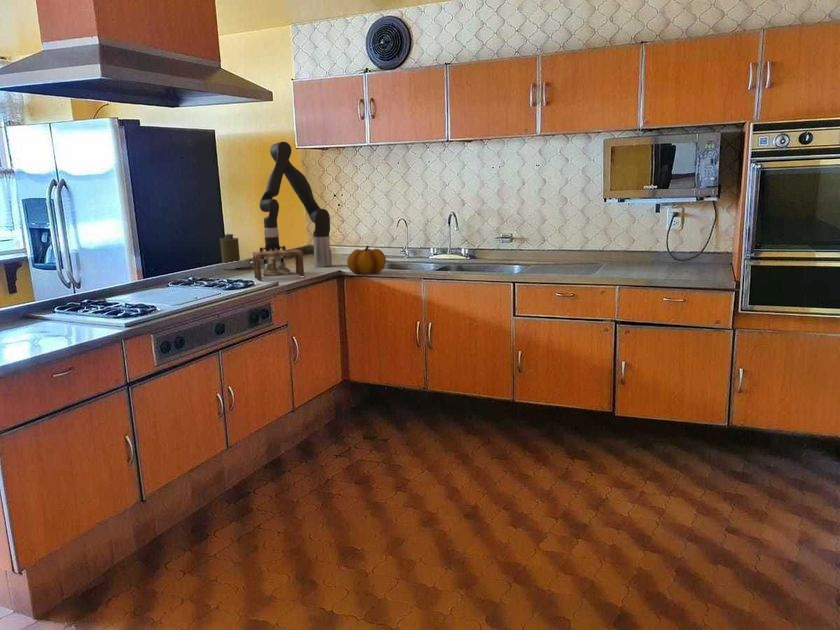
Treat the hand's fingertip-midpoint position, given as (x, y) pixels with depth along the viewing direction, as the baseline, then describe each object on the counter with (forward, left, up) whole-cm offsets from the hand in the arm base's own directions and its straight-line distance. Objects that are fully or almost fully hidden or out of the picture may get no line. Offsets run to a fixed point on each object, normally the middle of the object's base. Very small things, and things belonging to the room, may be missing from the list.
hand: (273, 265), depth 363 cm
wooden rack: (0, +17, -4) cm, 18 cm away
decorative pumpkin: (-45, +28, -4) cm, 53 cm away
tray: (0, -3, -4) cm, 5 cm away
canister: (+20, -32, -4) cm, 38 cm away
